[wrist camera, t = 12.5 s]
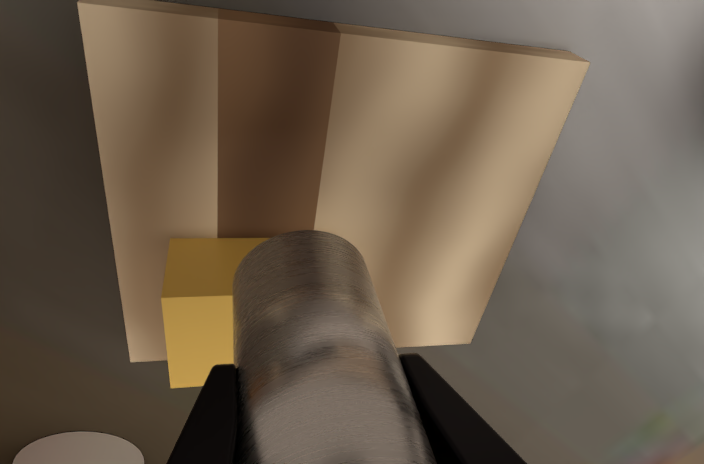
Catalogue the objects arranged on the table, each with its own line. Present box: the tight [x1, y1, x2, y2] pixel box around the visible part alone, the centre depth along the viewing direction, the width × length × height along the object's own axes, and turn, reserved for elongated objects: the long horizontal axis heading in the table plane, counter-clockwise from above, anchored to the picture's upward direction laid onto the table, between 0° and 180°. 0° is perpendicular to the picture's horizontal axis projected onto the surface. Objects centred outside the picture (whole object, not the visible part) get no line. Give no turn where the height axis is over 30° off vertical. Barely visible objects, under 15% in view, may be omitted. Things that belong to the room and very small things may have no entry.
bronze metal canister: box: [232, 230, 437, 464], centre depth 8 cm, size 3×3×8 cm
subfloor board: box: [77, 0, 590, 362], centre depth 22 cm, size 18×16×2 cm
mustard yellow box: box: [161, 238, 270, 388], centre depth 21 cm, size 7×5×4 cm
